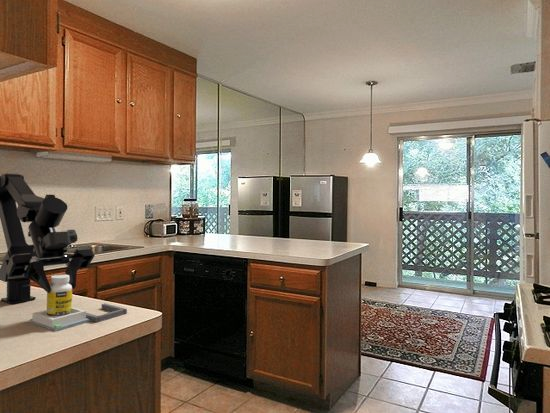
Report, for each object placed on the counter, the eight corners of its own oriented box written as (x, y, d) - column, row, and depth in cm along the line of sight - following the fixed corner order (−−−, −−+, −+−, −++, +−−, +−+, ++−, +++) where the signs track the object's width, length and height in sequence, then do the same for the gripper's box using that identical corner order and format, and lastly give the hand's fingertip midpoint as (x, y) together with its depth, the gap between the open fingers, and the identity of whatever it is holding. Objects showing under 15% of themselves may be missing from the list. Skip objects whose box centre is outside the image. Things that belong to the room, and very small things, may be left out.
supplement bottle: (54, 320, 92) (55, 279, 92) (41, 316, 95) (42, 276, 94) (76, 315, 96) (77, 275, 96) (63, 310, 99) (64, 272, 99)
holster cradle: (74, 315, 100) (74, 311, 100) (104, 307, 108) (104, 303, 108) (96, 322, 96) (96, 317, 96) (126, 313, 104) (126, 308, 104)
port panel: (29, 322, 95) (29, 312, 95) (62, 313, 102) (63, 304, 102) (55, 331, 89) (56, 320, 89) (89, 321, 96) (89, 311, 96)
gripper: (11, 220, 90) (27, 275, 83) (92, 218, 104) (111, 265, 98) (0, 249, 95) (14, 304, 89) (78, 244, 110) (96, 290, 103)
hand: (62, 289), depth 95 cm, fingers closed on supplement bottle, 5 cm apart
